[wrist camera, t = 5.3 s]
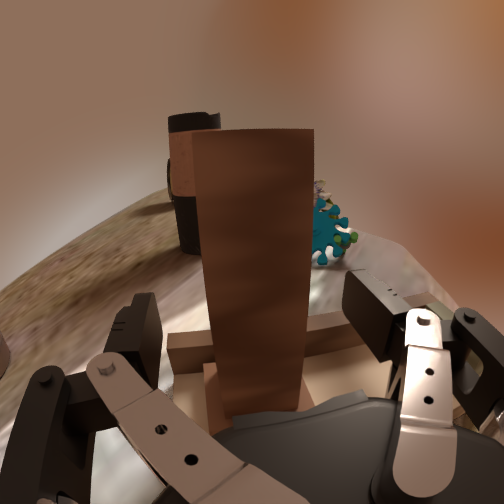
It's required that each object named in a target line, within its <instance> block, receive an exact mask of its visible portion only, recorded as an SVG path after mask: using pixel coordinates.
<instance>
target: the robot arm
mask: <svg viewBox="0 0 504 504" xmlns="http://www.w3.org/2000/svg"><path fill="white" fill-rule="evenodd" d="M342 310H343V313H344V315H345V317H346V318H347V320H348V321H349V322H350V324H351V325H352V326H353V328H354V329H355V330H356V332H357V333H358V334H359V336H360V337H361V338H362V340H363V341H364V342H365V344H366V345H367V346H368V348H369V349H370V351H371V352H372V353H373V355H374V356H375V357H376V359H377V360H378V362H379V363H383V362H386V361H389V360H391V361H392V365H391V367H390V372H389V378H388V383H387V388H386V393H385V398H380V397H367V396H366V394H365V392H364V391H363V389H360V390H357V391H354V392H350V393H347V394H343V395H339V396H336V397H333V398H331V399H329V400H327V401H325V402H323V403H321V404H319V405H317V406H315V407H313V408H310V409H308V410H306V411H302V412H273V411H265V412H259V413H253V414H246V415H238V416H232V421H233V426H231V427H228V428H226V429H223V430H221V431H219V432H217V433H216V434H214V435H212V436H210V435H209V434H208V433H206V432H205V431H204V430H203V429H202V428H201V427H199V426H198V425H197V424H196V423H195V422H194V421H193V420H192V419H191V418H189V417H188V416H187V415H186V414H185V413H184V412H183V411H182V410H181V409H180V408H179V407H178V406H177V405H176V404H175V403H174V402H173V401H172V400H170V399H169V398H168V397H167V396H166V395H165V394H164V393H163V392H162V391H161V390H160V389H158V378H159V368H160V358H161V349H162V340H163V332H162V325H161V321H160V316H159V312H158V308H157V303H156V299H155V295H154V293H153V292H149V293H137V294H135V295H134V298H133V301H132V304H131V306H127V307H123V308H122V309H121V310H120V311H119V312H118V313H117V314H116V317H115V320H114V322H113V323H114V324H113V325H112V328H111V331H110V333H109V336H108V339H107V342H106V345H105V348H104V351H103V353H102V354H99V355H97V356H96V357H94V358H93V359H92V360H91V361H90V362H89V363H88V365H87V368H86V371H84V372H80V373H76V374H72V375H68V376H65V374H64V372H63V370H62V369H61V368H59V367H57V366H45V367H43V368H40V369H39V370H37V371H36V372H35V373H34V374H33V375H32V377H31V379H30V381H29V384H28V386H27V389H26V391H25V394H24V396H23V399H22V402H21V404H20V407H19V410H18V413H17V416H16V419H15V422H14V425H13V428H12V431H11V434H10V438H9V441H8V445H7V448H6V452H5V456H4V459H3V463H2V468H1V472H0V504H90V494H91V476H92V464H93V453H94V444H95V436H96V432H97V431H102V430H106V429H110V428H114V427H118V429H119V430H120V432H121V433H122V434H123V436H124V437H125V438H126V440H127V441H128V442H129V444H130V445H131V446H132V448H133V449H134V450H135V451H136V453H137V454H138V455H139V456H140V458H141V459H142V460H143V461H144V463H145V464H146V465H147V466H148V468H149V469H150V470H151V471H152V472H153V474H154V475H155V476H156V477H157V478H158V479H159V481H160V482H161V483H162V484H163V485H164V486H165V487H166V488H165V489H164V490H163V491H162V492H161V493H160V495H159V496H158V497H157V498H156V499H155V500H154V501H153V503H152V504H504V336H503V335H502V334H501V333H500V332H499V331H498V330H497V329H495V327H493V326H492V325H491V324H490V323H489V322H488V321H487V320H486V319H485V318H484V317H482V316H481V315H480V314H479V313H478V312H476V311H475V310H472V309H469V308H459V309H457V310H456V311H455V313H454V316H453V319H452V320H440V319H439V317H438V316H437V315H436V314H435V313H433V312H431V311H429V310H426V309H413V308H412V307H411V306H410V305H409V304H408V303H407V302H405V301H404V300H403V299H402V298H401V297H400V296H399V295H397V293H396V292H395V291H394V290H392V289H391V288H390V287H389V286H388V285H387V284H386V283H384V282H382V281H380V280H378V279H376V278H374V277H373V276H372V275H371V274H369V273H368V272H367V271H366V270H365V269H359V270H351V271H348V272H347V273H346V275H345V282H344V290H343V298H342ZM471 350H472V351H473V352H474V353H475V354H476V355H477V356H478V357H479V358H480V360H481V361H482V363H483V372H482V374H481V376H479V375H478V374H477V373H476V371H475V370H474V369H473V368H472V367H471V366H470V364H469V363H468V362H467V359H468V356H469V354H470V352H471ZM9 359H10V351H9V348H8V346H7V344H6V342H5V340H4V338H3V335H2V333H1V331H0V377H1V376H2V375H3V373H4V372H5V370H6V368H7V366H8V364H9ZM452 394H453V395H454V397H455V398H456V399H457V401H458V402H459V404H460V405H461V406H462V408H463V409H464V411H465V412H466V413H467V415H468V416H469V418H470V419H471V421H472V422H473V424H474V425H475V426H476V428H477V429H478V431H479V433H477V432H474V431H471V430H469V429H466V428H463V427H460V426H458V425H455V424H453V423H452V418H453V397H452Z"/></svg>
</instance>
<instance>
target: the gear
mask: <svg viewBox="0 0 504 504" xmlns="http://www.w3.org/2000/svg"><path fill="white" fill-rule="evenodd" d="M325 206H326V201H325V200H324V199H321V198H318V200H317V204H316V207H315V208H314V209H313V238H312V254H313V253H314V252H316V251H321V252H322V254H321V255H320V256H319V257H318V259H317V263H318V264H319V265H327V261H328V259H327V257H326V254H325V250H326V247H327V246H332V247H333V256H334V257H335V258H336V257H339V256H341V255H342V253H345V252H346V249H348V248H349V247H350V245H351V243H356V242H357V239H358V234H357V233H356V232H352V233H351V236H350V234H349V233H344V232H340V231H339V230H337V229H336V228H335V227H334V226H335V225H340V226H341V227H342V228H344V229H346V228H347V227H348V218H346V217H343V218H341V219H332V218H329V217H328V216H329V215H335V216H337V215H339V214H340V209H339V207H338V206H337V205H333V206H332V207H331V208H330V209H329V210H328V211H325V212H319V211H318V210H319V209H322V208H325Z"/></svg>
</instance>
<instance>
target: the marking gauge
mask: <svg viewBox="0 0 504 504" xmlns="http://www.w3.org/2000/svg"><path fill="white" fill-rule="evenodd" d="M192 151H193V166H194V180H195V193H196V204H197V216H198V226H199V237H200V246H201V256H202V265H203V273H204V282H205V290H206V298H207V306H208V313H209V321H210V328H211V335H212V342H213V348H214V355H215V361H216V362H215V363H205V364H203V368H204V382H205V395H206V406H207V417H208V427H209V434H210V436H212V435H214V434H216V433H217V432H219V431H221V430H223V429H226V428H228V427H231V426H233V421H232V416H238V415H246V414H253V413H259V412H265V411H273V412H302V411H306V410H308V409H310V408H313V407H315V404H314V402H313V400H312V397H311V395H310V393H309V391H308V388H307V386H306V384H305V381H304V379H303V377H302V371H303V362H304V352H305V342H306V331H307V319H308V307H309V293H310V277H311V259H312V238H313V207H314V129H240V130H220V131H206V132H194V133H192Z"/></svg>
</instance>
